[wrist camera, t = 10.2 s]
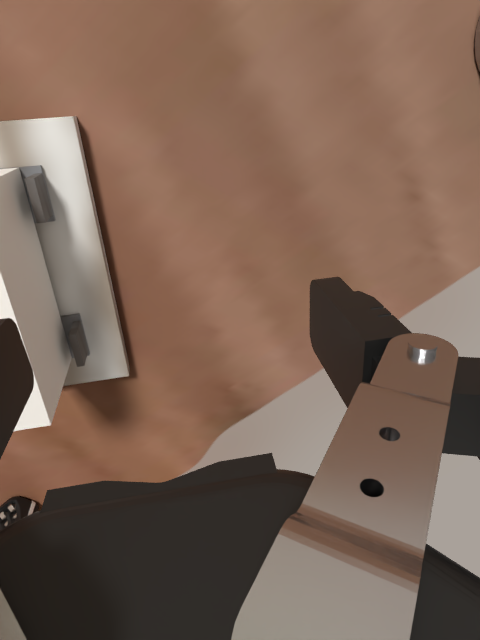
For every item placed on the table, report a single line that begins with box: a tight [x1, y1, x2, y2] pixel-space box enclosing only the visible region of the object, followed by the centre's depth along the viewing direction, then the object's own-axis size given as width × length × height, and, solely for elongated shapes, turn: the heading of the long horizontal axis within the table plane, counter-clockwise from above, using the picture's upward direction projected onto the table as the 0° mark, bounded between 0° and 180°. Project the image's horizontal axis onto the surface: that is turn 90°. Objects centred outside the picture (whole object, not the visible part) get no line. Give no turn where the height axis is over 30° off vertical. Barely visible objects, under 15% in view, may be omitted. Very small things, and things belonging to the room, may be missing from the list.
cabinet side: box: [0, 116, 130, 386], centre depth 34 cm, size 11×22×4 cm, turn 4°
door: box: [0, 168, 72, 431], centre depth 30 cm, size 4×16×9 cm, turn 3°
